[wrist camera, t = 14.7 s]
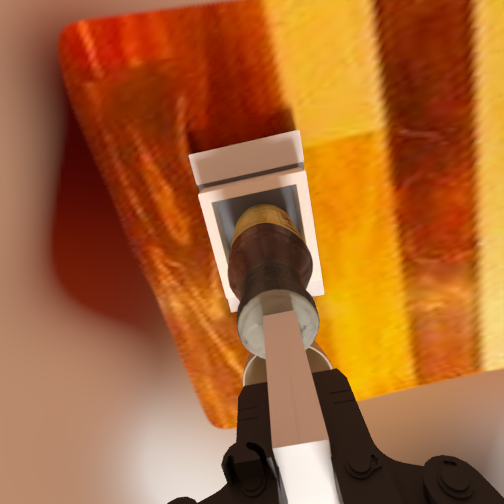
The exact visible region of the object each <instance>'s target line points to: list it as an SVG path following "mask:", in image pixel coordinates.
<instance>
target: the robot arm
mask: <svg viewBox="0 0 504 504" xmlns="http://www.w3.org/2000/svg"><path fill="white" fill-rule="evenodd" d="M263 328H264V342H265V355H266V369H267V382H263V383H257V384H252V385H246V386H244V387H243V389H242V391H241V393H240V395H239V397H238V416H237V421H238V423H237V438H236V439H237V440H236V443H235V444H233V445H232V446H231V447H229V449H228V450H227V452H226V453H225V455H224V457H223V461H222V464H221V466H222V469H223V472H224V475H225V477H226V480H227V484H226V485H225V486H224V487H223V488H222V489H221V490H219V491H218V492H216V493H215V494H213V495H211V496H209V497H208V498H206V499H204V500H202V501H200V502H198V503H197V502H196V501H195V500H194V499H191V498H189V497H180V498H176V499H174V500H172V501H170V502H169V503H167V504H504V498H503V497H502V496H501V495H500V494H499V492H498V491H496V490H495V488H494V487H493V486H491V484H490V483H489V482H488V481H487V480H486V479H485V478H484V477H483V476H482V475H481V474H480V473H479V472H478V471H477V470H476V469H474V468H473V467H472V466H470V465H469V464H468V463H467V462H465V461H462V460H460V459H458V458H456V457H452V456H444V455H441V456H435V457H432V458H431V459H429V460H428V461H427V462H426V463H425V465H424V466H419V465H413V464H407V463H402V462H399V461H395V460H393V459H391V458H389V457H387V456H386V455H385V454H383V453H382V452H381V451H380V450H379V449H378V448H377V447H376V446H375V444H374V442H373V440H372V438H371V436H370V433H369V431H368V428H367V426H366V424H365V421H364V419H363V416H362V414H361V412H360V409H359V407H358V404H357V402H356V400H355V397H354V394H353V392H352V390H351V387H350V385H349V382H348V380H347V377H345V376H344V375H343V374H342V373H341V372H340V371H339V370H338V369H337V368H336V369H331V370H325V371H320V372H314V373H311V370H310V366H309V362H308V359H307V355H306V351H305V347H304V344H303V340H302V336H301V332H300V329H299V325H298V321H297V317H296V314H295V310H292V311H287V312H282V313H276V314H271V315H266V316H263Z"/></svg>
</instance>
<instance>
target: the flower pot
mask: <svg viewBox="0 0 504 504" xmlns="http://www.w3.org/2000/svg"><path fill="white" fill-rule="evenodd" d="M305 351H306V355H307V359H308V362H309V366H310V370H311V373H314V372H320V371H325V370H331V369H333V368H332V365H331V363H330V361H329V359H328V358H327V356H326V354H325V353H324V352H323V350H322V349H321V348H320V347H319V345H318V344H317V343H316V342H315V341H313V343H312V344H311V345H310V347H309V348H308V349H306V350H305ZM263 382H267V369H266V359H263V358H260V357H259V356H257V355H255V354H252V353H251V352H250V354H249V357H248V359H247V362H246V365H245V369H244V373H243V387H244V386H246V385H252V384H257V383H263Z"/></svg>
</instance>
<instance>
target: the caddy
mask: <svg viewBox="0 0 504 504" xmlns="http://www.w3.org/2000/svg"><path fill="white" fill-rule="evenodd" d="M189 159H190V163H191V166H192V170H193V174H194V177H195V181H196V185H198V187H199V190H200V193H199V194H198V196H199V200H200V204H201V207H202V211H203V215H204V218H205V222H206V226H207V229H208V233H209V237H210V240H211V244H212V248H213V251H214V255H215V259H216V262H217V266H218V270H219V273H220V277H221V281H222V284H223V288H224V292H225V295H226V299H228V302H229V306H230V310H231V312H236V311H238V306H239V303H240V301H239V300H238V299H237V298H236V296H235V295H234V293H233V292H232V290H231V288H230V286H229V281H228V275H227V274H228V272H227V269H228V263H229V261H228V260H229V252H230V248H231V244H232V239H233V235H234V231H235V227H236V223H237V221H238V219H239V217H240V216H241V215H242V214H243V213H244V212H245V211H246V210H247V209H248V208H250V207H253V206H255V205H258V204H271V205H274V206H277V207H279V208H281V209H282V210H284V211H285V212H286V213H287V214H288V215H289V217H290V218H291V220H292V222H293V223H294V225H295V227H296V228H297V230H298V232H299V233H300V235H301V237H302V239H303V240H304V242H305V244H306V245H307V247H308V249H309V251H310V253H311V256H312V260H313V272H312V276H311V279H310V281H309V284H308V286H307V289H306V291H307V292H309V294H310V295H311V296H312V297H313V296H319V295H324V288H323V281H322V275H321V268H320V262H319V255H318V248H317V242H316V235H315V229H314V222H313V216H312V209H311V202H310V196H309V189H308V183H307V176H306V170H304V165H303V162H304V157H303V150H302V144H301V137H300V130H295V131H291V132H287V133H282V134H278V135H274V136H269V137H265V138H261V139H256V140H252V141H247V142H243V143H239V144H234V145H230V146H226V147H221V148H217V149H212V150H208V151H204V152H199V153H195V154H191V155H189Z"/></svg>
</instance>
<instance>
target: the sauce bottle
mask: <svg viewBox="0 0 504 504" xmlns="http://www.w3.org/2000/svg"><path fill="white" fill-rule="evenodd" d="M228 261H229V263H228V269H227V272H228V274H227V275H228V281H229V286H230V288H231V290H232V292H233V293H234V295H235V296H236V298H237V299H238V300H239V301H240V303H239V306H238V311H237V330H238V334H239V337H240V339H241V342H242V344H243V345H244V346H245V347H246V349H248V350H249V351H250V352H251V353H252V354H255V355H257V356H259V357H260V358H263V359H266V355H265V342H264V328H263V316H266V315H271V314H276V313H282V312H287V311H292V310H295V314H296V317H297V321H298V325H299V329H300V332H301V336H302V340H303V344H304V347H305V350H306V349H308V348H309V347H310V345H311V344H312V343H313V341H314V340H315V338H316V336H317V333H318V329H319V315H318V312H317V309H316V305H315V302H314V300H313V298H312V296H311V295H310V294H309V292H307V291H306V289H307V286H308V284H309V281H310V279H311V276H312V272H313V260H312V256H311V253H310V251H309V249H308V247H307V245H306V244H305V242H304V240H303V239H302V237H301V235H300V233H299V232H298V230H297V228H296V227H295V225H294V223H293V222H292V220H291V218H290V217H289V215H288V214H287V213H286V212H285V211H284V210H282V209H281V208H279V207H277V206H274V205H271V204H258V205H255V206H253V207H250V208H248V209H247V210H246V211H245V212H244V213H243V214H242V215H241V216H240V217H239V219H238V221H237V223H236V227H235V231H234V235H233V239H232V244H231V248H230V252H229V260H228Z"/></svg>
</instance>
